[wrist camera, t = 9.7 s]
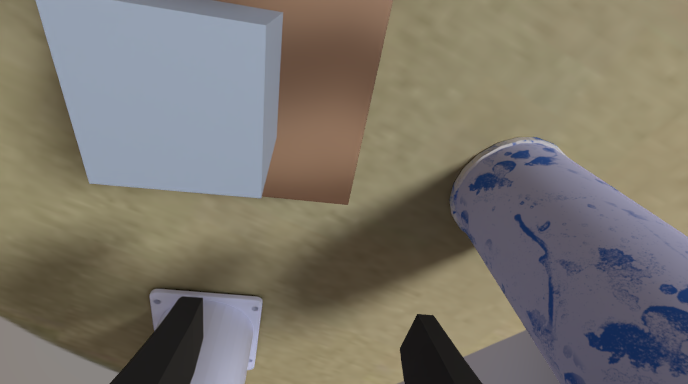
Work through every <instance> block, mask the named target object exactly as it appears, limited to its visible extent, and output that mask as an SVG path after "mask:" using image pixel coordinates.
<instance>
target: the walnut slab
mask: <svg viewBox="0 0 688 384" xmlns="http://www.w3.org/2000/svg"><path fill="white" fill-rule="evenodd" d="M214 1H220V2H226V3H232V4H238V5H243V6H249V7H255V8H261V9H267V10H272V11H278V12H283V24H282V44H281V63H280V82H279V101H278V120H277V138H276V142H275V146H274V150H273V154H272V158H271V162H270V165H269V169H268V173H267V177H266V181H265V185H264V189H263V193H262V196H264V197H274V198H284V199H294V200H304V201H314V202H324V203H334V204H344V205H348V202H349V198H350V193H351V189H352V184H353V179H354V175H355V170H356V166H357V161H358V157H359V152H360V148H361V143H362V139H363V134H364V130H365V125H366V120H367V116H368V111H369V107H370V102H371V98H372V93H373V89H374V84H375V80H376V75H377V71H378V66H379V61H380V57H381V52H382V48H383V43H384V39H385V34H386V30H387V25H388V21H389V16H390V11H391V7H392V2H393V0H214Z"/></svg>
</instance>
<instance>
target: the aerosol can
mask: <svg viewBox="0 0 688 384" xmlns="http://www.w3.org/2000/svg"><path fill="white" fill-rule="evenodd" d="M450 208H451V214H452V216H453V218H454V219H455V221H456V223H457V224H458V226H459V228H460V229H461V230H462V231H464V232H465V233H466V234H467V235H468V237H469V239H470V240H471V242H472V243H473V245H474V247H475V248H476V250H477V251H478V253H479V255H480V256H481V258H482V259H483V261H484V263H485V264H486V266H487V267H488V269H489V271H490V272H491V274H492V275H493V277H494V278H495V280H496V282H497V283H498V285H499V286H500V288H501V290H502V291H503V293H504V294H505V296H506V298H507V299H508V301H509V302H510V304H511V306H512V307H513V309H514V310H515V312H516V314H517V315H518V317H519V318H520V320H521V322H522V323H523V325H524V326H525V328H526V330H527V331H528V332H529V334H530V336H531V337H532V339H533V341H534V342H535V344H536V346H537V347H538V349H539V350H540V352H541V354H542V355H543V357H544V358H545V360H546V361H547V363H548V365H549V366H550V368H551V369H552V371H553V373H554V374H555V376H556V378H557V379H558V381H559V382H560V384H688V237H687V236H686V235H684V234H683V233H681V232H680V231H678V230H677V229H675V228H674V227H672V226H671V225H669V224H667V223H666V222H664V221H663V220H661V219H660V218H658V217H657V216H655V215H654V214H652V213H651V212H649V211H648V210H646V209H645V208H643V207H642V206H640V205H639V204H637V203H636V202H634V201H633V200H631V199H630V198H628V197H627V196H625V195H624V194H622V193H621V192H619V191H618V190H616V189H615V188H613V187H612V186H610V185H609V184H607V183H606V182H604V181H603V180H601V179H599V178H598V177H596V176H595V175H593V174H592V173H590V172H589V171H587V170H586V169H584V168H583V167H581V166H580V165H578V164H577V163H575V162H574V161H572V160H571V159H569V158H568V157H567V156H566V155H565V154H564V153H563V152H562V151H561V150H560V149H559V148H558V147H557V146H556V145H554V144H553V143H550V142H548V141H545V140H542V139H540V138H537V137H517V138H513V139H510V140H506V141H503V142H499V143H497V144H495V145H493V146H491V147H490V148H488V149H486V150H484V151H483V152H481V153H479V154H478V155H477V156H476V157H475V158H474V159H473V160H471V161H470V162H469V163H468V164H467V165H466V166H465V167H464V168H463V170H462V171H461V173H460V174H459V176H458V178H457V179H456V181H455V182H454V184H453V188H452V192H451V196H450Z"/></svg>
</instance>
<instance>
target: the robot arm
mask: <svg viewBox="0 0 688 384" xmlns="http://www.w3.org/2000/svg"><path fill="white" fill-rule="evenodd" d="M149 297H150V304H151V312H152V319H153V326H154V333H153V334H152V335H151V336H150V338H149V339H148V340H147V341H146V342H145V344H144V345H143V346H142V347H141V348H140V350H139V351H138V352H137V353H136V354H135V355H134V357H133V358H132V359H131V360H130V361H129V363H128V364H127V365H126V366H125V367H124V368H123V369H122V371H121V372H120V373H119V374H118V375H117V376H116V377H115V378H114V379H113V380H112V382H111V383H110V384H245V379H246V373H247V370H251V369H253V368H254V365H255V358H256V350H257V342H258V334H259V327H260V319H261V311H262V303H263V300H262V299H261V298H260V297H257V296H244V295H231V294H219V293H206V292H193V291H181V290H168V289H154V290H152V291H151V293H150V296H149ZM400 353H401V362H402V369H403V376H404V382H405V384H482V383H481V381H480V380H479V379H478V377H477V376H476V375H475V373H474V372H473V370H472V369H471V368H470V366H469V365H468V364H467V362H466V361H465V360H464V358H463V357H462V355H461V354H460V353H459V351H458V350H457V348H456V347H455V345H454V344H453V343H452V341H451V340H450V338H449V337H448V335H447V334H446V333H445V331H444V330H443V328H442V327H441V325H440V324H439V323H438V321H437V320H436V318H435V317H434V316H433V315H422V314H417V316H416V318H415V320H414V322H413V324H412V326H411V328H410V330H409V332H408V334H407V336H406V338H405V339H404V341H403V343H402V345H401V347H400Z"/></svg>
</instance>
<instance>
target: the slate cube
mask: <svg viewBox="0 0 688 384" xmlns="http://www.w3.org/2000/svg"><path fill="white" fill-rule="evenodd" d="M36 4H37V7H38V11H39V14H40V17H41V21H42V24H43V28H44V31H45V34H46V38H47V41H48V45H49V48H50V51H51V55H52V58H53V61H54V65H55V68H56V72H57V75H58V78H59V82H60V85H61V89H62V92H63V95H64V99H65V102H66V106H67V109H68V112H69V116H70V119H71V123H72V126H73V129H74V133H75V136H76V140H77V143H78V146H79V150H80V153H81V157H82V160H83V163H84V167H85V170H86V174H87V177H88V180H89V183H91V184H103V185H114V186H126V187H137V188H149V189H160V190H171V191H183V192H194V193H206V194H217V195H229V196H240V197H252V198H261V197H262V193H263V189H264V185H265V181H266V177H267V173H268V169H269V165H270V162H271V158H272V154H273V150H274V146H275V142H276V138H277V120H278V101H279V82H280V63H281V44H282V24H283V12H278V11H272V10H267V9H261V8H255V7H249V6H243V5H238V4H232V3H226V2H220V1H214V0H36Z"/></svg>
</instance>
